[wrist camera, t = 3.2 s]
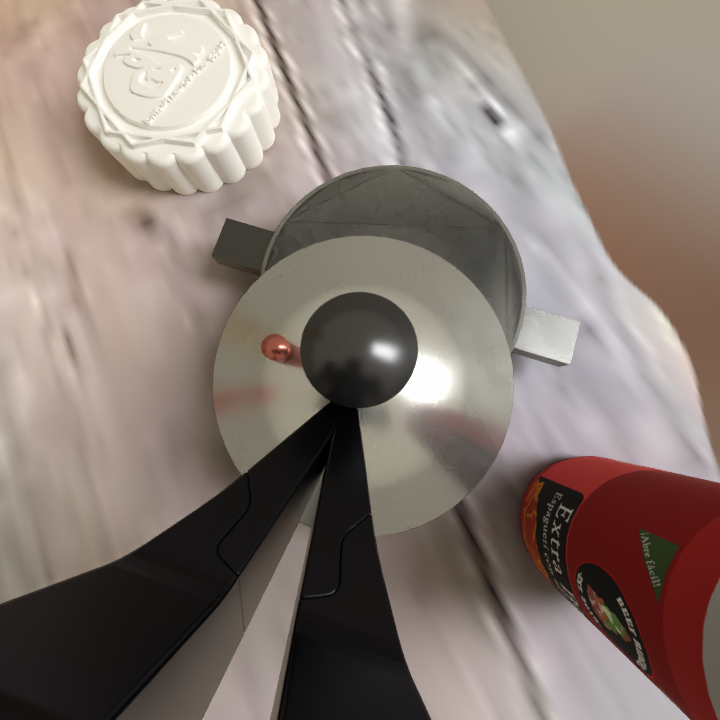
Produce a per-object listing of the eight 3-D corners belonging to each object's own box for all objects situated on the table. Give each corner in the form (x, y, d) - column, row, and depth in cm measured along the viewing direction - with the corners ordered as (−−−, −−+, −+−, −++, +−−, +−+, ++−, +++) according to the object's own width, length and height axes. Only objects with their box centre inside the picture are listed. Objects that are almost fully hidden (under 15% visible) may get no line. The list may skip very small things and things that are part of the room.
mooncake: (192, 18, 24) (161, -50, 20) (316, 105, 23) (307, 50, 19) (77, 133, 23) (24, 82, 19) (202, 231, 21) (169, 196, 18)
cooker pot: (518, 466, 19) (546, 478, 16) (197, 362, 20) (167, 355, 17) (572, 246, 20) (607, 219, 18) (275, 162, 22) (260, 124, 19)
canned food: (499, 469, 19) (683, 559, 8) (630, 439, 19) (993, 489, 8) (536, 609, 18) (809, 936, 7) (675, 577, 18) (1163, 850, 7)
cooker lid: (464, 574, 15) (600, 809, 6) (176, 474, 16) (-56, 560, 7) (537, 287, 17) (722, 162, 8) (275, 210, 17) (188, 24, 9)
